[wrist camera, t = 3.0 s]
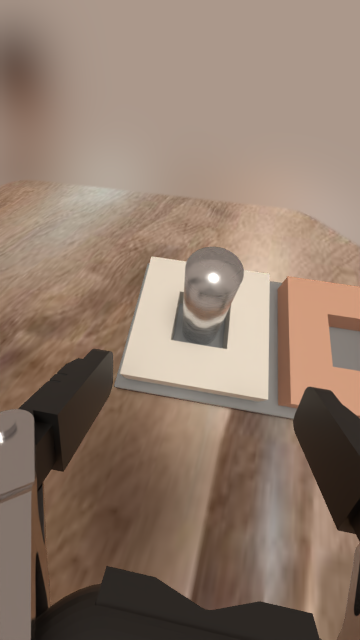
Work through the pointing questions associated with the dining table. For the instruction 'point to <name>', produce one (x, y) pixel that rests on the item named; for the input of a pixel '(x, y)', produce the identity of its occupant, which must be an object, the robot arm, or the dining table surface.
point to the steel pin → (209, 292)
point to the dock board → (246, 344)
